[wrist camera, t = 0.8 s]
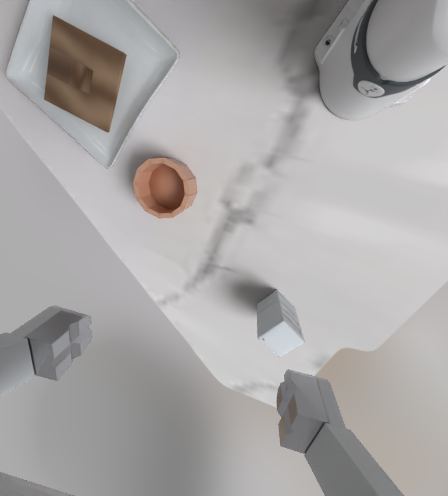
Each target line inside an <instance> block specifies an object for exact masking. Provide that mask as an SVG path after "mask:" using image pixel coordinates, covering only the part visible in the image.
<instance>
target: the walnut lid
mask: <svg viewBox="0 0 448 496" xmlns="http://www.w3.org/2000/svg"><path fill="white" fill-rule="evenodd" d="M126 56H127V55H126V54H125V53H124V52H122V51H120V50H118V49H116V48H114V47H112V46H110V45H109V44H107V43H105V42H103V41H101V40H99V39H97V38H95V37H94V36H92V35H90V34H88V33H86V32H84V31H82V30H80V29H79V28H77V27H75V26H73V25H71V24H69V23H67V22H65V21H64V20H62V19H60V18H58V17H56V16H54V15H53V20H52V29H51V38H50V48H49V57H48V66H47V76H46V85H45V94H44V100H46V101H47V102H49V103H51V104H53V105H55V106H57V107H59V108H61V109H63V110H65V111H67V112H69V113H71V114H73V115H74V116H76V117H78V118H80V119H82V120H84V121H86V122H88V123H90V124H92V125H94V126H96V127H98V128H100V129H101V130H103V131H105V132H108V133H109V132H110V127H111V123H112V118H113V114H114V109H115V105H116V101H117V96H118V92H119V87H120V83H121V78H122V74H123V69H124V65H125V61H126Z"/></svg>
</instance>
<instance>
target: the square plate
mask: <svg viewBox="0 0 448 496" xmlns="http://www.w3.org/2000/svg"><path fill="white" fill-rule="evenodd" d="M53 15H54V16H56V17H58V18H60V19H62V20H64V21H65V22H67V23H69V24H71V25H73V26H75V27H77V28H79V29H80V30H82V31H84V32H86V33H88V34H90V35H92V36H94V37H95V38H97V39H99V40H101V41H103V42H105V43H107V44H109V45H110V46H112V47H114V48H116V49H118V50H120V51H122V52H124V53H125V54H126V55H127V56H126V61H125V65H124V69H123V74H122V78H121V83H120V87H119V92H118V96H117V101H116V105H115V109H114V114H113V118H112V123H111V127H110V132H109V133H108V132H105V131H103V130H101V129H100V128H98V127H96V126H94V125H92V124H90V123H88V122H86V121H84V120H82V119H80V118H78V117H76V116H74V115H73V114H71V113H69V112H67V111H65V110H63V109H61V108H59V107H57V106H55V105H53V104H51V103H49V102H47V101H46V100H44V94H45V85H46V76H47V66H48V57H49V48H50V38H51V29H52V20H53ZM179 57H180V53H179V51H178V49H177V48H176V46H175V45H174V44H173V43H172V42H171V41H170V40H169V39H168V38H167V37H166V36H165V35H164V34H163V33H162V32H161V31H160V30H159V29H158V28H157V26H156V25H155V24H154V23H153V22H152V21H151V20H150V19H149V18H148V17H147V16H146V15H145V14H144V13H143V12H142V11H141V10H140V9H139V8H138V7H137V6H136V5H135V4H134V3H133V2H132V1H131V0H29V3H28V6H27V9H26V12H25V14H24V17H23V20H22V23H21V26H20V29H19V32H18V35H17V38H16V41H15V44H14V47H13V50H12V53H11V56H10V59H9V63H8V66H7V69H6V77H7V79H8V80H9V81H10V82H11V83H12V84H13V85H15V86H16V87H17V88H18V89H19V90H20V91H21V92H22V93H23V94H25V95H26V96H27V97H28V98H29V99H30V100H31V101H33V102H34V103H35V104H36V105H37V106H38V107H39V108H40V109H42V110H43V111H44V112H45V113H46V114H47V115H48V116H50V117H51V118H52V119H53V120H54V121H55V122H56V123H57V124H58V125H59V126H61V127H62V128H63V129H64V130H65V131H66V132H67V133H68V134H69V135H70V136H71V137H73V138H74V139H75V140H76V141H77V142H78V143H79V144H80V145H81V146H82V147H83V148H84V149H85V150H87V151H88V152H89V153H90V154H91V155H92V156H93V157H94V158H95V159H96V160H98V161H99V162H100V163H101V164H102V165H103V166H104V167H106V168H107V169H109V168H111V167H112V165H113V164H114V162H115V161H116V159H117V157H118V155H119V154H120V152H121V150H122V148H123V146H124V144H125V142H126V140H127V139H128V137H129V135H130V133H131V131H132V130H133V128H134V126H135V124H136V123H137V121H138V119H139V118H140V116H141V114H142V113H143V111H144V110H145V108H146V107H147V105H148V104H149V102H150V101H151V99H152V98H153V96H154V95H155V94H156V92H157V91H158V89H159V88H160V87H161V85H162V84H163V82H164V81H165V80H166V78H167V77H168V76H169V74H170V73H171V71H172V70H173V68H174V67H175V65H176V64H177V62H178V60H179Z"/></svg>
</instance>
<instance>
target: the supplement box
mask: <svg viewBox="0 0 448 496" xmlns="http://www.w3.org/2000/svg"><path fill="white" fill-rule="evenodd" d="M257 334H258V339H259V340H261V341H262V342H263V343H264V344H265V345H266V346H267V347H268V348H269V349H270V350H272V351H273V352H274V353H275V354H276V355H277V356H278V357H281V356H283V355H284V354H286V353H288V352H289V351H291V350H293V349H295V348H296V347H298V346H300V345H301V344H303V343H305V341H304V337H303V334H302V330H301V327H300V323H299V320H298V316H297V313H296V309H295V307H294V306H293V305H292V304H291V303H290V302H289V301H288V300H287V299H286V298H285V297H284V296H283V295H282V294H281V293H280V292H279V291H278V290H276V291H274V292H273V293H271V294H270V295H269V296H267V297H266V298H265V299H263V300H262V301H261V302H259V303H258V304H257Z"/></svg>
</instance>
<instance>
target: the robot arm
mask: <svg viewBox="0 0 448 496" xmlns="http://www.w3.org/2000/svg"><path fill="white" fill-rule="evenodd" d="M326 41H328V42H329V45H328V46H327V45H326V44H325V42H326ZM314 56H315V60H316V63H317V65H318V68H319V72H320V92H321V96H322V99H323V101H324V103H325V105H326V106H327V108H328V109H329V110H330V111H331V112H332V113H333V114H335V115H336V116H338V117H340V118H343V119H348V120H358V119H363V118H367V117H369V116H372V115H374V114H376V113H377V112H379V111H381V110H382V109H384V108H386V107H390V106H396V105H400V104H403V103H405V102H406V101H408V100H409V99H410V98H411V96H412V94H413V92H414V91H415V90H417V89H418V88H420V87H422V86H423V85H425V84H426V83H427V82H428V81H429V80H430V79H431V77H432V76H433V75H435V74H436V73H437V72H439V71H440V70H441V69H442V68H444V67H445V66H446V65H447V64H448V0H349V1H348V2H347V4H346V5H345V7H344V8H343V10H342V11H341V12H340V14H339V15H338V17H337V18H336V19H335V21H334V22H333V24H332V25H331V27H330V28H329V29H328V31H327V32H326V34H325V35H324V36H323V38H322V39H321V41H320V42H319V44H318V45H317V46H316V48H315V51H314ZM91 323H92V321H91V317H90V316H88V315H85V314H82V313H78V312H75V311H72V310H69V309H65V308H62V307H58V306H51V307H49V308H47V309H46V310H44V311H43V312H41V313H40V314H38V315H37V316H35V317H34V318H32V319H31V320H29V321H28V322H26V323H25V324H24V325H22V326H21V327H19V328H18V329H16V330H15V331H13V332H12V333H3V334H0V396H1V395H2V394H4V393H6V392H8V391H9V390H11V389H13V388H15V387H17V386H19V385H21V384H22V383H24V382H26V381H28V380H30V379H32V378H33V377H35V375H37V376H41V377H45V378H48V379H52V380H56V381H58V380H59V378H60V377H61V376H62V375H63V374H64V373H65V372H66V371H67V370H68V369H69V368H70V367H71V365H72V362H73V359H74V358H76V357H78V356H80V355H82V354H83V353H84V351H85V350H86V349H87V347H88V346H89V344H90V342H91V339H92V331H91V329H90V328H89V325H90V324H91ZM284 379H285V381H284V382H282V383H281V384H280V386H279V388H278V393H277V411H278V413H279V414H280V416H281V420H280V422H279V436H280V446H282V447H285V448H288V449H292V450H294V451H297V452H300V453H304V454H305V457H306V459H307V461H308V463H309V465H310V467H311V469H312V471H313V473H314V475H315V477H316V479H317V481H318V483H319V485H320V487H321V488H322V491H323V493H324V494H325V496H404V495H403V494H402V493H401V491H400V490H399V489H398V488H397V486H396V485H395V484H394V483H393V482H392V480H391V479H390V478H389V477H388V475H387V474H386V473H385V472H384V471H383V469H382V468H381V467H380V466H379V464H378V463H377V462H376V461H375V459H374V458H373V457H372V456H371V455H370V453H369V452H368V451H367V450H366V449H365V447H364V446H363V445H362V444H361V442H360V441H359V440H358V439H357V438H356V436H355V435H354V434H353V432H352V431H351V430H349V429H346V427H345V424H344V421H343V418H342V416H341V413H340V410H339V407H338V404H337V401H336V399H335V396H334V393H333V390H332V387H331V385H330V382H329V381H328V380H326V379H323V378H319V377H315V376H312V375H308V374H304V373H300V372H296V371H293V370H289V369H288V370H287V371H286V373H285V375H284ZM0 496H73V495H70V494H67V493H64V492H61V491H58V490H54V489H51V488H48V487H45V486H42V485H39V484H36V483H33V482H30V481H27V480H23V479H20V478H17V477H14V476H11V475H8V474H5V473H2V472H0Z"/></svg>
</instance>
